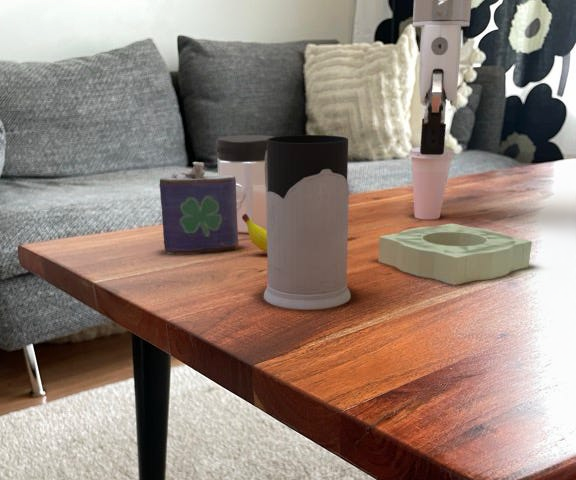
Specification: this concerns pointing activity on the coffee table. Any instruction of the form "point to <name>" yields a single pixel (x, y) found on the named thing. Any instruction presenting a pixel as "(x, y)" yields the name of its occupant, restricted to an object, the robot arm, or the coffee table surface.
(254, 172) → the jar
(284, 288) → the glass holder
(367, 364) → the coffee table surface
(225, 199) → the flask
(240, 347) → the coffee table surface
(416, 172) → the smoothie
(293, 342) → the coffee table surface
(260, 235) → the fruit
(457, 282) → the ashtray
